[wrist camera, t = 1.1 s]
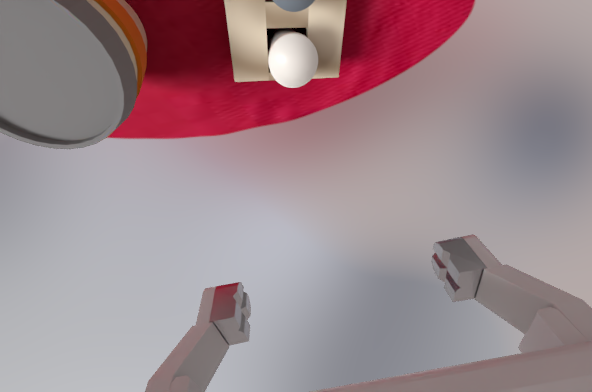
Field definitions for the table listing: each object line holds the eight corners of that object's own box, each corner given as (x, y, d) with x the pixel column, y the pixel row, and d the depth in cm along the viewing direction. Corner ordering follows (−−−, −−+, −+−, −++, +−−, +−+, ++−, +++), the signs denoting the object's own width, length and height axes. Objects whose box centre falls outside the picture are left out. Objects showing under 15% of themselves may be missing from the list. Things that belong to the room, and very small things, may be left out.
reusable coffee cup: (146, -37, 28) (88, -30, 17) (175, 88, 36) (148, 149, 25) (3, -46, 26) (-169, -44, 15) (67, 89, 34) (-13, 155, 23)
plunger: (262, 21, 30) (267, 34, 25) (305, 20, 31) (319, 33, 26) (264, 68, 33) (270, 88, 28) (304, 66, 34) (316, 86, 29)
